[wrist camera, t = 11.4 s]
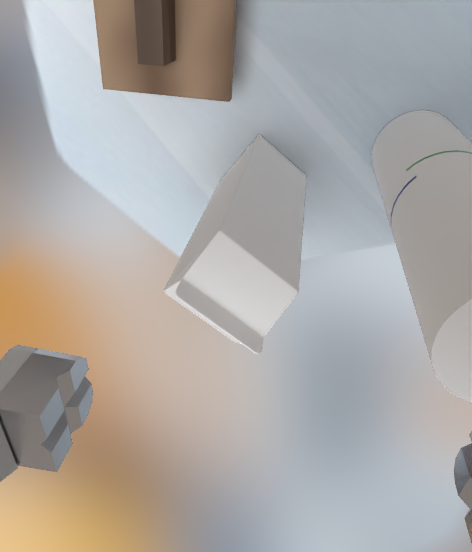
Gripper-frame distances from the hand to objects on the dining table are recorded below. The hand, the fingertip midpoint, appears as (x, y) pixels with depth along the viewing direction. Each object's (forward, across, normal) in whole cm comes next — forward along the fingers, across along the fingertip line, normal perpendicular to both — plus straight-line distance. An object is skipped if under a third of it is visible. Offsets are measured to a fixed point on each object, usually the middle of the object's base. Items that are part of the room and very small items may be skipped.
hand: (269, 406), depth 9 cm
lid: (+29, +11, -5) cm, 31 cm away
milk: (+33, +3, +8) cm, 34 cm away
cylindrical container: (+33, -10, +4) cm, 35 cm away
